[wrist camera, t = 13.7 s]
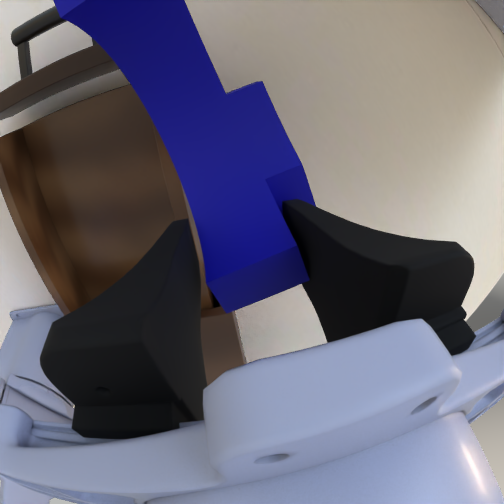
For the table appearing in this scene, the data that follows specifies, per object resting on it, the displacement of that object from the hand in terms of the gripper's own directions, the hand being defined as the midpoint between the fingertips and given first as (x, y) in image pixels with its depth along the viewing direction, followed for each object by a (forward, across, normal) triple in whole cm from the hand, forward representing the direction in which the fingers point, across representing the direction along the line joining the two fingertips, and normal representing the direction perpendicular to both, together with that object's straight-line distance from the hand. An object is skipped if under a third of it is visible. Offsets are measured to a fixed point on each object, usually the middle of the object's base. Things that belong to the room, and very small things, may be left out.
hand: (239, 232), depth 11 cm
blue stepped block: (+3, 0, -5) cm, 6 cm away
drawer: (+9, +8, -2) cm, 13 cm away
